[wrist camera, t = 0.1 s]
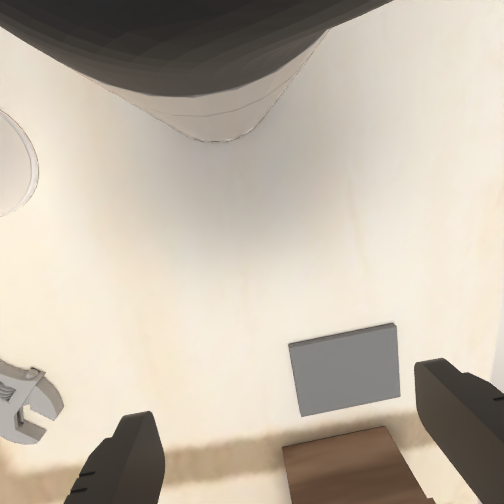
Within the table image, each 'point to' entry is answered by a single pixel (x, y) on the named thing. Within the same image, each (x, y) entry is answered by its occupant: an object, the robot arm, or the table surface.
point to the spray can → (15, 166)
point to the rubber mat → (346, 369)
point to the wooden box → (351, 471)
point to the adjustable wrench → (25, 403)
